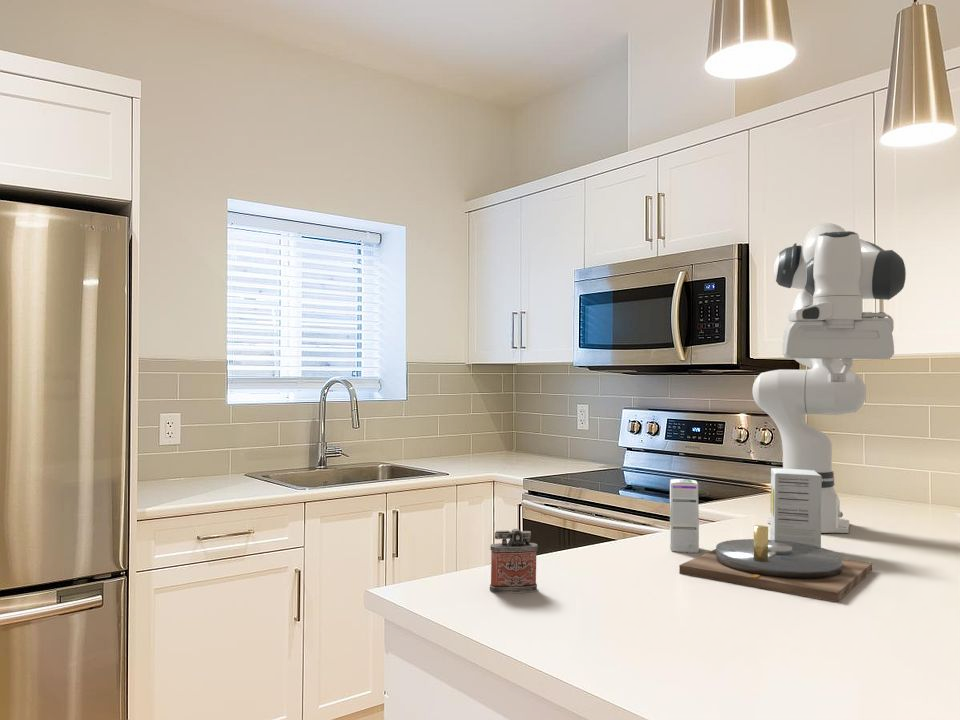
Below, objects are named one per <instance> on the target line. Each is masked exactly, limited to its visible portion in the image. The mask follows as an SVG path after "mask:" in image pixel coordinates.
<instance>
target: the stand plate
mask: <svg viewBox="0 0 960 720" xmlns="http://www.w3.org/2000/svg"><path fill="white" fill-rule="evenodd" d="M678 571H679V573H678V574H681V575H688V576H693V577H698V578H704V579H709V580H715V581H719V582H720V581H721V582H725V583H730V584H737V585H741V586H747V587H753V588H758V589H762V590H763V589H764V590H769V591H775V592H780V593H785V594H790V595H791V594H792V595H794V596H795V595H796V596H802V597H808V598H813V599H818V600H823V601H829V602H833V603H834V602H835V603H838V602H839V601H841V600H842V598H844V597H845V596H846V595H847V594H848V593H850V591H852V590H853V589H854V588H855V587H857V585H858V584H859V583H860V582H861V581H863V580H864V579H865V578H866V577H867V576H868V575H870V573H872V572H873V562H868V561H862V560H861V561H860V560H854V559H847V558H843V562H842V572H841V573H839V574H837V575H834V576H828V577H819V578H794V577H780V576H771V575H764V574H758V573H752V572H748V571H743V570H739V569H736V568H732V567H729V566H727V565H725V564H722V563H721V562H719V561H718V560H717V559H716V548H715V549H712V550H710V551H708V552H706V553H704V554H702V555H701V554H700V555H699V556H696V557H694V558H692V559H690V560H687V561H686V562H684V563H681V564H679V569H678Z"/></svg>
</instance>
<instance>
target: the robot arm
mask: <svg viewBox="0 0 960 720" xmlns="http://www.w3.org/2000/svg"><path fill="white" fill-rule="evenodd" d="M906 271H907V270H906V264H905V262H904V258H902V257H901V255H899V253H897V252H895V251H894V250H893V249H886V250H885V249H883V248H882V247H881V246H879V245H877V244H875V243H873V242H870V241H866V240H864V239H862V238H860V235H859V234H858V233H857V232H854V231H851V230H850V231H849V230H846V229H845V228H843V227H842V226H840V225H838V224H835V223H831V222H826V223H825V222H824V223H819V224H817V225H815V226H814V227H812V228H811V229H810V230H809V231H808V232H807V234H805V237H804V238H803V242H802V245H799V244H798V245H797V242H796V243H793V245H792V246H789V247H786V248H784V249H782V250H781V251H780V252H779V253H778V255H777V256H776V258H775V261H774V263H773V276H774V278H775V282H776V283H777V284H778V286H780V287H783V288H787V289H791V288H793V289H797V290H802V291H800V292H799V293H798V294H797V296H796V297H795V300H794V302H793V305H792V309H791V311H790V312H788V316H787V318H788V321H789V323H788V324H787V325H786V326H785V329H784V331H783V335H782V336H783V337H782V344H781V353H782V355H783V357H784V358H785V359H793V360H794V361H796V362H797V363H799V365H800V364H801V365H803V366H805V367H808V369H773V370H768V371H765V372H761V373H759V374H758V376H756V378H755V380H754V382H753V384H752V385H753V386H752V391H751V392H752V397H753V400H754V402H755V404H756V405H757V406H758V408H759V409H761V411H763V412H765V414H767V415H768V416H769V417H770V418H771V420H772V421H773V422H774V423H775V425H776V427H777V429H778V431H779V434H780V438H781V449H782V469H800V470H815V471H816V472H817V473H818V474H819V475H821V476H822V492H821V534H825V533H827V534H828V533H829V534H830V533H831V534H832V533H833V534H834V533H837V534H838V533H840V534H848V533H849V532H850V525H851V524H850V520H849V519H846V518H842V517H843V516H844V514H843V512H842V511H841V506H840V505H841V501H840V497H839V495H838V494H837V491H836V489H835V488H834V486H835V473H834V470H832V469H833V467H832V463H833V462H832V459H833V458H832V455H833V454H832V453H833V444H832V441H831V439H830V437H829V436H828V435H827V434H826V433H824V432H823V431H821V430H819V429H817V428H815V427H813V426H812V425H810V424H808V423H807V421H806V420H805V419H806V418H805V415H830V416H837V415H838V416H840V415H845V414H851V413H852V414H853V413H857V412H858V411H859V410H860V409H861V408H862V407H863V405H864V403H865V401H866V398H867V388H866V384H865V382H864V380H863V379H862V377H861V376H860V375H859V374H858V373H857V372H854V371H853V370H851V367H852V366H853V360H890V359H891V358H892V357H893V356H894V354H895V345H894V342H895V341H894V337H893V332H894V324H895V323H894V319H893V317H892V316H891V315H889V314H887V313H886V312H882V311H881V312H880V311H879V312H872V311H871V312H870V311H863V300H869V299H872V300H873V299H874V300H887V301H889V300H891V299H892V298H895V296H897V295H898V294H899V293H900V292H902V290H903V289H904V287H905V283H906V279H907V278H906V276H907V272H906ZM770 519H771V517H768V518H767V519H766V520H767V521H766V523H767V524H770Z"/></svg>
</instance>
